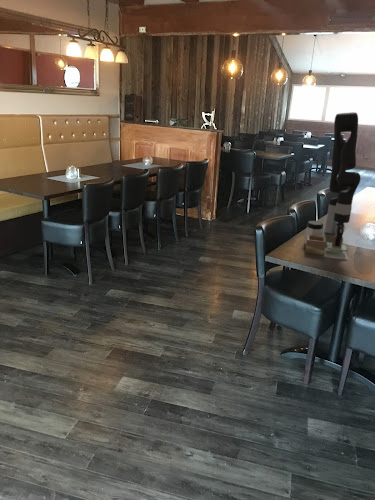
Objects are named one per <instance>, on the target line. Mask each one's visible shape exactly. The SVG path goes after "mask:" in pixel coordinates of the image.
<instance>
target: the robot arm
mask: <svg viewBox="0 0 375 500" xmlns="http://www.w3.org/2000/svg"><path fill="white" fill-rule="evenodd" d="M358 115H359V114H358V113H357V112H341V113H340V112H339V113H337V114H336V115H335V117H334V125H333V128H334V129H333V130H334V131H333V136H334V137H333V148H332V155H331V156H332V157H331V173H330V179H329V180H330V181H329V186H328V187H329V192H331V193H334V194H337V197H331V198H330V199H329V203H328V208H327V209H328V210H327V213H326V215H327V216H326V222H325V228H324V232H325V233H326V234H329V235H334V236H336V242H335V246H340V241H341V239H342V237H343V235H344V231H345V228H346V227H345V224H348V223H350V218H351V214H352V206H353V205H352V204H353V199H354V196H355V193H356V191H357V189H358V186H359V185H360V183H361V179H362V177H361V175H360V173H359V172H356V171H349V170H353V169H355V168H356V166H357V158H356V157H357V155H356V154H357V152H356V151H357V150H356V149H357V142H358V141H357V140H358V129H359V116H358ZM345 132H346V133H347V132H349V133H350V135H349V138H348V139H347V141H346V140H345V139H344V137H343V135H342V133H345ZM339 236H340V237H339Z"/></svg>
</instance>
